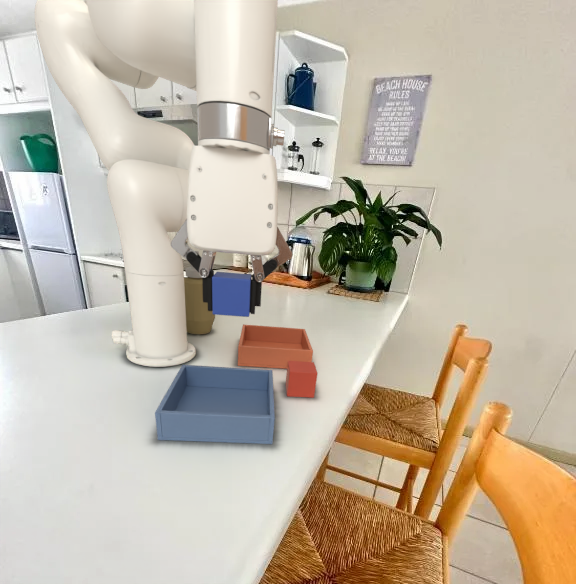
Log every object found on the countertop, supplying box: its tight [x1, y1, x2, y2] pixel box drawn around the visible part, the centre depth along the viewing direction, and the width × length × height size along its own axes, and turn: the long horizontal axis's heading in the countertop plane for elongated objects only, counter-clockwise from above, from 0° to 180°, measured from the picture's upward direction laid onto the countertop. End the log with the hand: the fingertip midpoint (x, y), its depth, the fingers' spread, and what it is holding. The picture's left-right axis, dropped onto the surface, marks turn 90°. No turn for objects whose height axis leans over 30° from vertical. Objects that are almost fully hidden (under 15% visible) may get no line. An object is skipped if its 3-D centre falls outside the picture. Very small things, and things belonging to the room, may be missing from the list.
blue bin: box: [154, 364, 276, 445], centre depth 46 cm, size 14×14×4 cm
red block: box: [285, 361, 318, 399], centre depth 54 cm, size 4×4×4 cm
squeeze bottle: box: [184, 250, 216, 335], centre depth 74 cm, size 8×8×18 cm
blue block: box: [212, 271, 253, 318], centre depth 41 cm, size 4×4×4 cm
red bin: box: [237, 324, 314, 370], centre depth 68 cm, size 14×14×4 cm
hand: (232, 308), depth 42 cm, fingers closed on blue block, 4 cm apart
